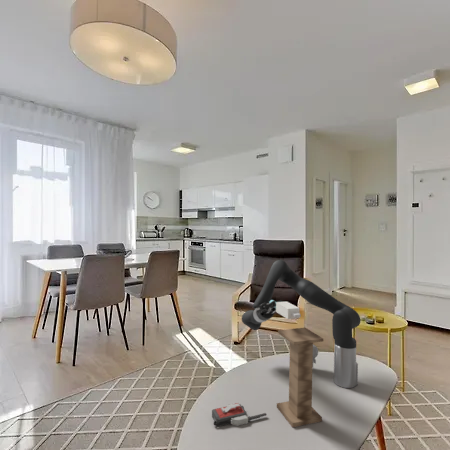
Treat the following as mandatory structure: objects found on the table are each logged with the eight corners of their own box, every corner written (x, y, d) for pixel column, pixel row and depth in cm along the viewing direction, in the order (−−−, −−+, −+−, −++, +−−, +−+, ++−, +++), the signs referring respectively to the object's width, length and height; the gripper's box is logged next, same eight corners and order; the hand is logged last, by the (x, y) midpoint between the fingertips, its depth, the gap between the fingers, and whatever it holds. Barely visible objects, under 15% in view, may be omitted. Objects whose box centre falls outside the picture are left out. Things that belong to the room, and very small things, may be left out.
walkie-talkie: (216, 432, 103) (267, 419, 110) (216, 419, 103) (268, 407, 110) (208, 417, 111) (256, 406, 118) (208, 405, 111) (256, 394, 118)
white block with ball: (275, 304, 137) (275, 295, 137) (303, 320, 115) (303, 310, 115) (265, 305, 136) (265, 296, 136) (291, 321, 114) (292, 311, 114)
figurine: (312, 364, 154) (312, 340, 154) (320, 371, 146) (321, 346, 146) (297, 366, 152) (298, 342, 151) (305, 373, 144) (306, 348, 144)
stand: (303, 402, 121) (305, 327, 120) (321, 421, 109) (323, 338, 109) (276, 407, 117) (278, 330, 117) (292, 427, 106) (294, 342, 105)
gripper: (248, 305, 144) (261, 295, 129) (274, 304, 148) (290, 293, 134) (251, 322, 140) (265, 312, 126) (278, 319, 144) (294, 310, 130)
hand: (278, 302), depth 130 cm, fingers closed on white block with ball, 2 cm apart
